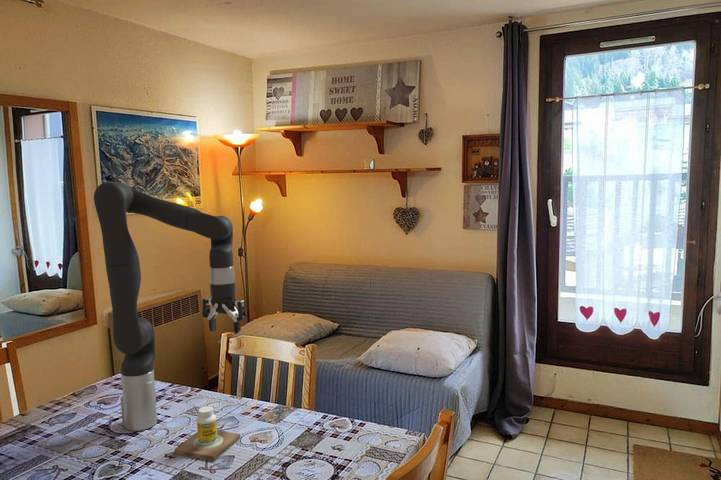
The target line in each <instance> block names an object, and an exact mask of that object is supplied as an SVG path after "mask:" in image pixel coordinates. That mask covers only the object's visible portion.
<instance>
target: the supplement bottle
mask: <svg viewBox="0 0 721 480" xmlns="http://www.w3.org/2000/svg"><path fill="white" fill-rule="evenodd" d="M217 422H218V421H217V415H216V414H215V413H214V407H213V406H208V405H207V406H203V407H200V408H199V409H198V416H197V417H196V427H197V428H196V429H197V432H198V442H199V444H201V445H211V444H213V443H215V442H216V441H217V439H218V435H217V430H218V425H217Z"/></svg>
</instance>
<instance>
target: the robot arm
mask: <svg viewBox="0 0 721 480" xmlns="http://www.w3.org/2000/svg"><path fill="white" fill-rule="evenodd" d="M93 203H94V207H95V211H96V214H97V217H98V221H99V222H98V223H99V227H100V230H101V237H102V247H103V254H104V261H105V262H104V263H105V271H106V277H107V281H108V289H109V297H110V302H111V308H112V309H111V310H112V313H111V314H112V334H113V335H112V336H113V337H112V338H113V342H114V345H115V347H116V349H117V350H118V351H119V352H120V353H122V354H124V358H123V360H122V362H121V364H120V375H121V377H120V378H121V389H122V395H121V396H120V407H121V408H120V409H121V421H122V427H124V428H125V429H126V430H128V431H132V432H136V431H137V432H138V431H145V430H148V429H150V428H152V427H154V426H155V425H157V422H158V415H157V414H158V413H157V398H156V397H157V396H156V384H155V383H156V381H155V369H154V362H155V359H156V337H155V335H156V334H155V331H154V330H155V329H154V327H153V325H152V323H151V322H150V321H149V320H148V319H146V318H144V317H139V315H138V298H139V293H140V289H141V283H142V282H141V281H142V271H141V264H140V258H139V253H138V251H137V247H136V246H135V243H134V241H133V239H132V236H131V234H130V231H129V228H128V227H129V226H128V221H127V220H128V219H127V213H129V214H135V215H137V214H138V215H142V216H146V217H148V218H151V219H154V220H156V221H159V222H161V223H163V224H166V225H168V226H170V227H174V228H177V229H180V230H184V231H188V232H192V233H195V234H197V235H200V236H202V237H203V238H207V239H210V250H209V290H210V291H209V292H210V293H209V294H210V297H211V298H210V297H209V296H208V297H204V298H202V308H201V309H202V317H203V318H206V319H207V320H208V329H209V331H210V332H212V333H213V332H215V331H216V330H217V318H216V316H217V315H218V314H219V315H220V314H224V315H228V316H229V317H230V318H231V319H232V321H233V322H232V323H233V334H235V335H237V334H239V333H240V332H241V330H242V328H241V327H242V326H241V322H242V321H243V320H246V319H247V311H246V310H247V309H246V301H245V300H244V299H241V300H237V299H236V276H235V275H236V274H235V267H234V256H233V255H234V253H233V242H234V240H233V239H234V229H233V223H232V221H231V219H230V218H229V217H227V216H225V215H217V216H216V215H211V214H209V213H206V212H202V211H201V210H200V209H197V208H193V207H192V206H191V207H190V206H187V205H183V204H180V203H176V202H173V201H168V200H165V199H161V198H157V197H154V196H152V195H149V194H146V193H144V192H142V191H139V190H137V189H135V188H132V187H131V186H129V185H127V184H125V183H123V182H121V181H106V182H103V183H101V184H99V185H98V186H96V188H95V191H94V193H93ZM211 306H212V307H211ZM211 308H212V309H211Z"/></svg>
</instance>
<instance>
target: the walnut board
mask: <svg viewBox="0 0 721 480" xmlns="http://www.w3.org/2000/svg"><path fill="white" fill-rule="evenodd" d="M217 435H218V439H217V441H216V442H215V443H213V444H211V445H201V444H199V442H198V431H197V432H195V433H194V434H192V436H190V437H189V438H187V439H186V440H184V441H183V442H182V443H181V444H180V445H178V446H177V447H176V448H175V449H174V450H173V451H174V454H175V455H180V456H181V455H182V456H186V457H192V458H197V459H201V460H202V459H203V460H208V461H213V462H215V461H216V460H218V459H219V458H220V456H222V455H224V454H225V452H226V451H227V450H229V449H230V448H231V447H232V446H234V444H235V443H237V442H238V441H239V440H240V439H241V434H240V433H234V432H229V431H222V430H219V429H217Z"/></svg>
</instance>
